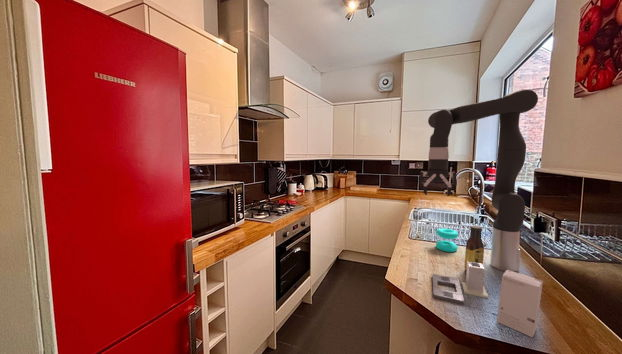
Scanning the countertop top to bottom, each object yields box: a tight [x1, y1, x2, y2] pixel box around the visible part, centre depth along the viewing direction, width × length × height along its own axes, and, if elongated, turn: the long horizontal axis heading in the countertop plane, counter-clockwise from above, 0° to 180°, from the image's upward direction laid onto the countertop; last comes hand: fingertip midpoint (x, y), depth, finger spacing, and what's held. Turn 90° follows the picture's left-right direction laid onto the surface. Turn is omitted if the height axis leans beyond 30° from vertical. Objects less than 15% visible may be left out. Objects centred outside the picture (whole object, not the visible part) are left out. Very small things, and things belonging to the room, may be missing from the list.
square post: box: [465, 261, 485, 293], centre depth 86 cm, size 4×4×9 cm
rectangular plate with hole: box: [431, 273, 465, 305], centre depth 88 cm, size 9×16×1 cm, turn 155°
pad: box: [461, 281, 489, 299], centre depth 87 cm, size 7×7×1 cm
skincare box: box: [496, 270, 544, 338], centre depth 68 cm, size 8×6×15 cm
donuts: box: [435, 227, 459, 253], centre depth 125 cm, size 10×10×10 cm
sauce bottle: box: [463, 225, 485, 274], centre depth 99 cm, size 7×6×20 cm
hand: (436, 195), depth 104 cm, fingers open, 8 cm apart
